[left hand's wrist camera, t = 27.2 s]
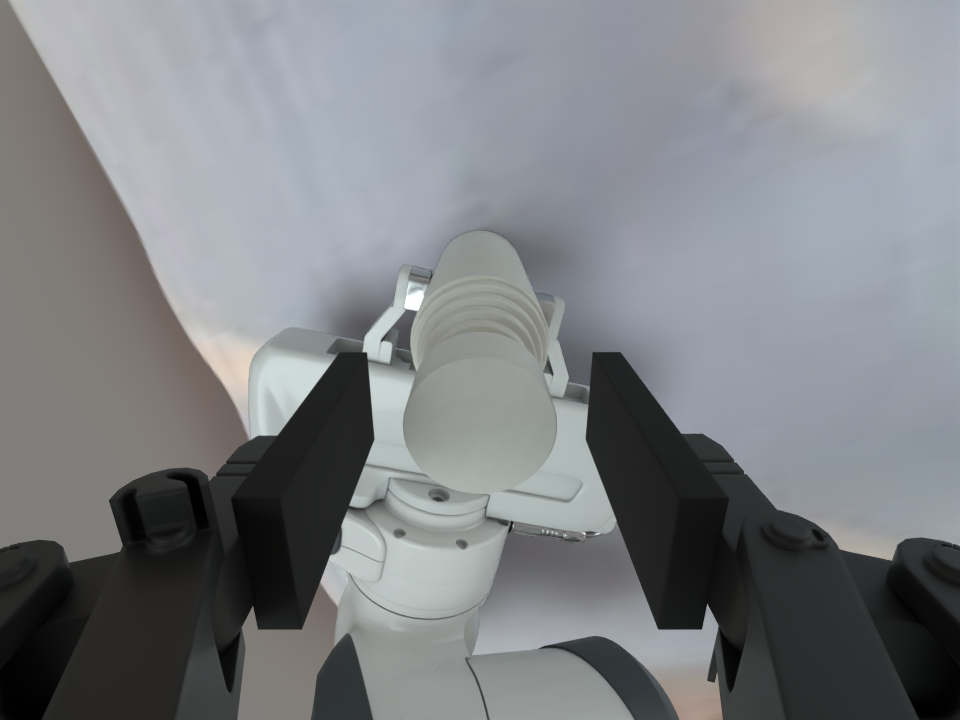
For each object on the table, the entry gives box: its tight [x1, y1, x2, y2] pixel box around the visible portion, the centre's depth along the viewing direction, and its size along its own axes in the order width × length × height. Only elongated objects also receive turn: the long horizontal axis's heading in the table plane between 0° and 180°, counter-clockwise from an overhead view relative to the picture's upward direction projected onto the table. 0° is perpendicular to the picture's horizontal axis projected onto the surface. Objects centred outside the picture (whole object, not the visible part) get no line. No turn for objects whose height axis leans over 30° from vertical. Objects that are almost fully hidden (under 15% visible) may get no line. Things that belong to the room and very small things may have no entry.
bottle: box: [410, 231, 549, 371], centre depth 22 cm, size 5×5×19 cm
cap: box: [403, 332, 557, 494], centre depth 14 cm, size 4×4×2 cm
